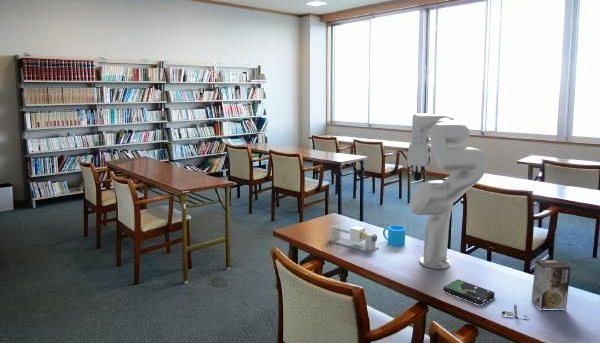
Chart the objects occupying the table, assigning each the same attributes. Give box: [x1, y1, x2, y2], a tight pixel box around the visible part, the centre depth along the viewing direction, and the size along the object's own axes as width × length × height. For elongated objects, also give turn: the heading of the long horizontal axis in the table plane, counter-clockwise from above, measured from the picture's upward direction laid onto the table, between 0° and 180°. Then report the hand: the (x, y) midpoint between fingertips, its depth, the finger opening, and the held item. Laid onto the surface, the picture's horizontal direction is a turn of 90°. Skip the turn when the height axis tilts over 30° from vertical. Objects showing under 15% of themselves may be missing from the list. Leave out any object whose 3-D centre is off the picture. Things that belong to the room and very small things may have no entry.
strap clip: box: [501, 304, 518, 318], centre depth 151 cm, size 8×3×4 cm, turn 73°
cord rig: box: [327, 224, 380, 254], centre depth 217 cm, size 24×8×8 cm, turn 50°
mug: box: [382, 225, 407, 248], centre depth 220 cm, size 12×8×8 cm
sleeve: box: [349, 225, 366, 243], centre depth 215 cm, size 5×5×6 cm
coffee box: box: [530, 259, 572, 310], centre depth 157 cm, size 9×6×16 cm
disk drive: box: [442, 279, 496, 305], centre depth 167 cm, size 10×3×15 cm
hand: (417, 180), depth 211 cm, fingers closed
